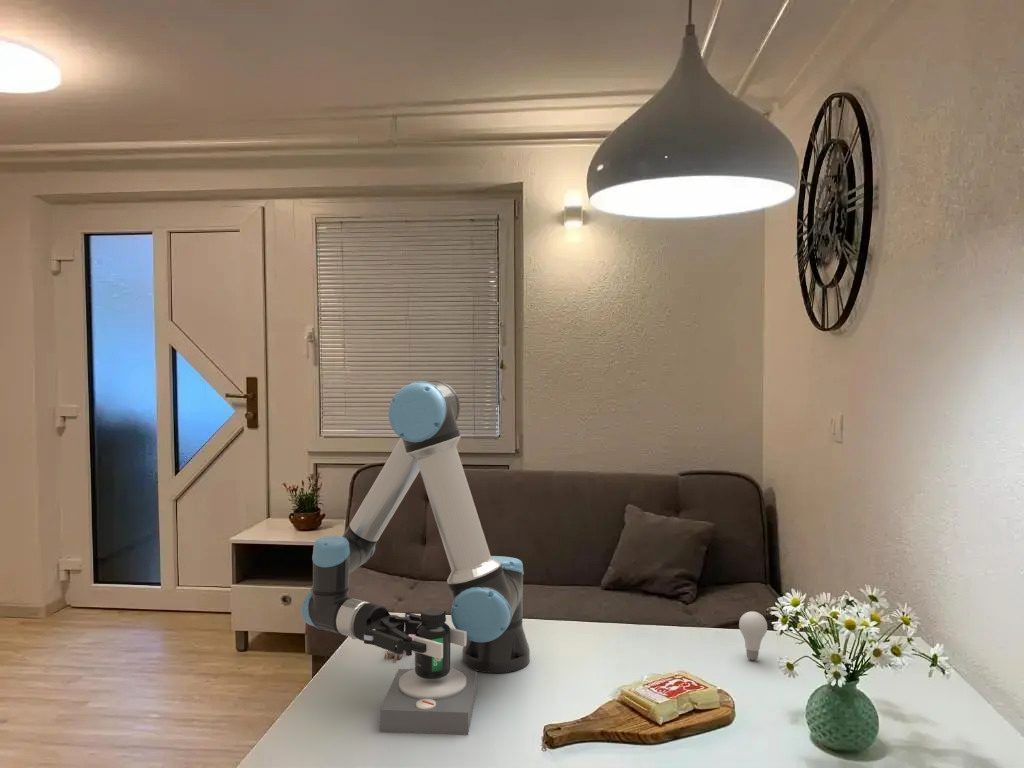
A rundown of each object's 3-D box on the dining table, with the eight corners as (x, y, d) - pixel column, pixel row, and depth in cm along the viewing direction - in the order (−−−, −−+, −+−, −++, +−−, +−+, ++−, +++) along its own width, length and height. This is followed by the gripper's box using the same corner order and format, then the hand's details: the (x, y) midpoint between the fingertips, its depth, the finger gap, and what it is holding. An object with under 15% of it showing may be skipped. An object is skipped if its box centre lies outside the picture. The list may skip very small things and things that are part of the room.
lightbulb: (750, 652, 176) (751, 606, 175) (772, 661, 171) (773, 613, 170) (732, 658, 172) (733, 610, 172) (754, 667, 167) (755, 618, 167)
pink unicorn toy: (403, 669, 167) (431, 635, 181) (401, 644, 166) (429, 612, 180) (378, 665, 169) (407, 632, 183) (376, 641, 168) (406, 609, 182)
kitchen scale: (398, 688, 154) (398, 664, 154) (476, 690, 154) (476, 666, 154) (379, 731, 136) (379, 704, 136) (468, 734, 136) (468, 707, 136)
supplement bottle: (445, 681, 143) (445, 618, 143) (410, 678, 144) (410, 615, 144) (453, 667, 150) (454, 607, 149) (420, 664, 151) (421, 604, 150)
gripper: (395, 625, 165) (482, 648, 152) (328, 654, 148) (420, 682, 136) (396, 591, 164) (483, 611, 152) (329, 616, 148) (421, 641, 136)
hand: (453, 644), depth 144 cm, fingers closed on supplement bottle, 7 cm apart
